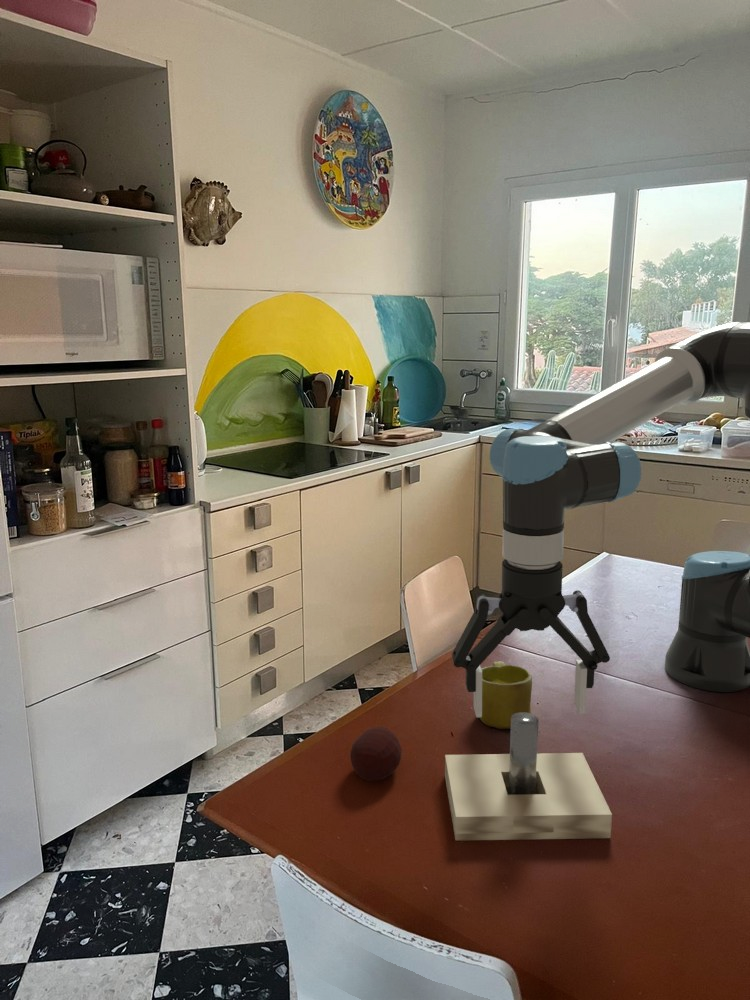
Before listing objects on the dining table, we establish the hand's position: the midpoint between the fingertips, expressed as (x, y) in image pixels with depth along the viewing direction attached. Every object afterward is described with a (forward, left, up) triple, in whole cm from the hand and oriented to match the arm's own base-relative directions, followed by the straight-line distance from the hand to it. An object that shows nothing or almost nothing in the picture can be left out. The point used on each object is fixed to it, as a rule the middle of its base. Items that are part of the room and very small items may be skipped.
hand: (528, 710), depth 102 cm
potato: (+20, -8, -15) cm, 26 cm away
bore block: (0, 0, -14) cm, 14 cm away
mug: (-1, -25, -15) cm, 29 cm away
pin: (0, 0, -13) cm, 13 cm away
